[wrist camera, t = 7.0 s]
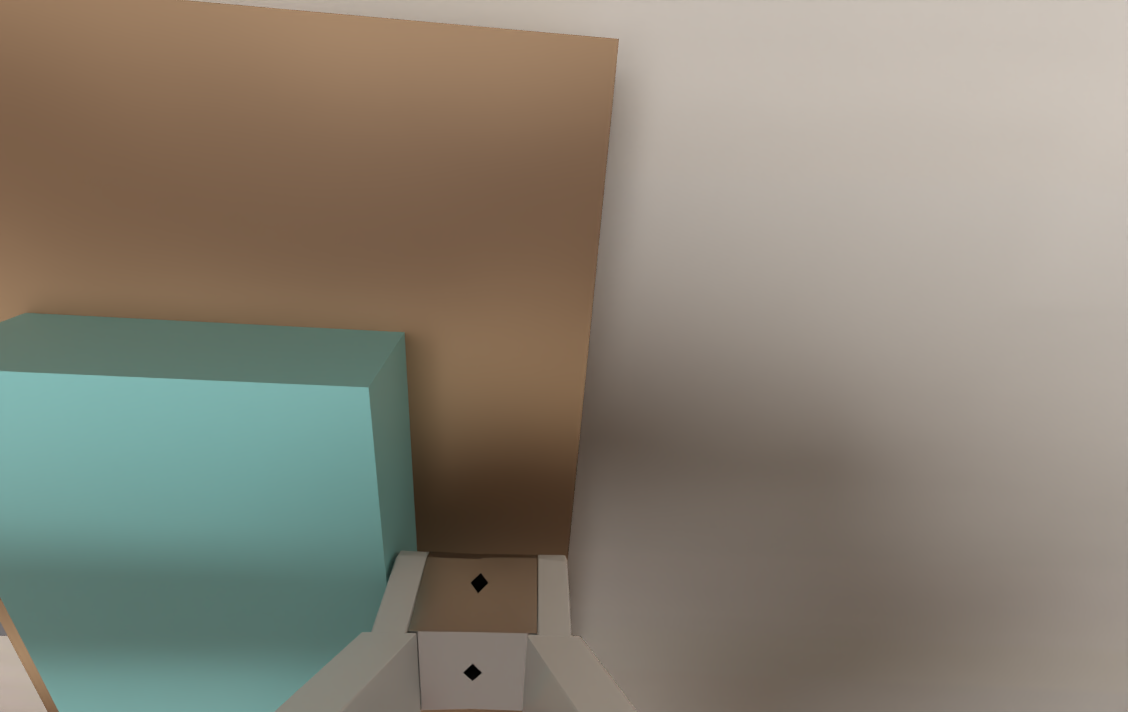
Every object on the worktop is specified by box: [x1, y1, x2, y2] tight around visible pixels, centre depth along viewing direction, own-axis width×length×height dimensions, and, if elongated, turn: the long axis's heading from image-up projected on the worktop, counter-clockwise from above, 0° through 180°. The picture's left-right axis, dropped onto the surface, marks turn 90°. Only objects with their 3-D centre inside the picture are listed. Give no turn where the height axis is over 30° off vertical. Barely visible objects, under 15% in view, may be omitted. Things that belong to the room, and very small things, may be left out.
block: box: [0, 313, 417, 712], centre depth 9 cm, size 9×6×2 cm, turn 176°
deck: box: [0, 0, 619, 712], centre depth 12 cm, size 18×12×4 cm, turn 176°
